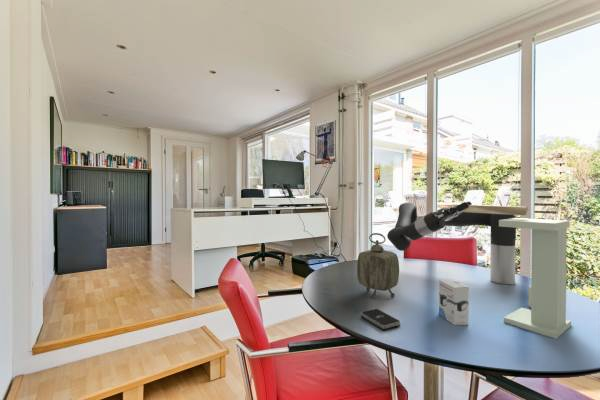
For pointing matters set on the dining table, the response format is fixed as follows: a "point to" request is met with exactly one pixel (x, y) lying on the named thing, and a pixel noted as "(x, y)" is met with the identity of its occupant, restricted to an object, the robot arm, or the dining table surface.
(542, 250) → the shelf stand
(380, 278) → the tabletop clock
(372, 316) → the external hard drive
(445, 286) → the ink box
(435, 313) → the dining table surface
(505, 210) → the ash rod
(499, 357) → the dining table surface
